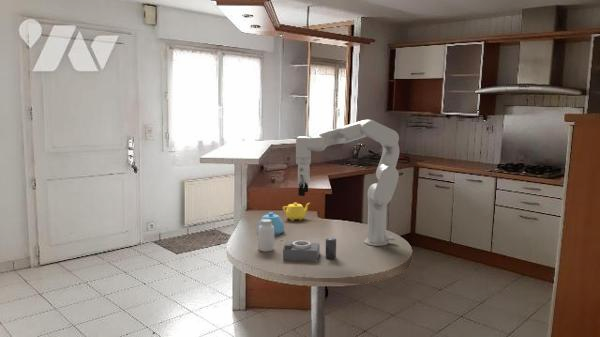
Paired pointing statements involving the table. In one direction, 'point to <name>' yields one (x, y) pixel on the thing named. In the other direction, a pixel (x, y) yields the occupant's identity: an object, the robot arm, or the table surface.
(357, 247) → the table surface
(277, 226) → the sugar bowl
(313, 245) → the camera body
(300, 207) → the teapot
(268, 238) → the pill bottle
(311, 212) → the table surface
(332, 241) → the lens
